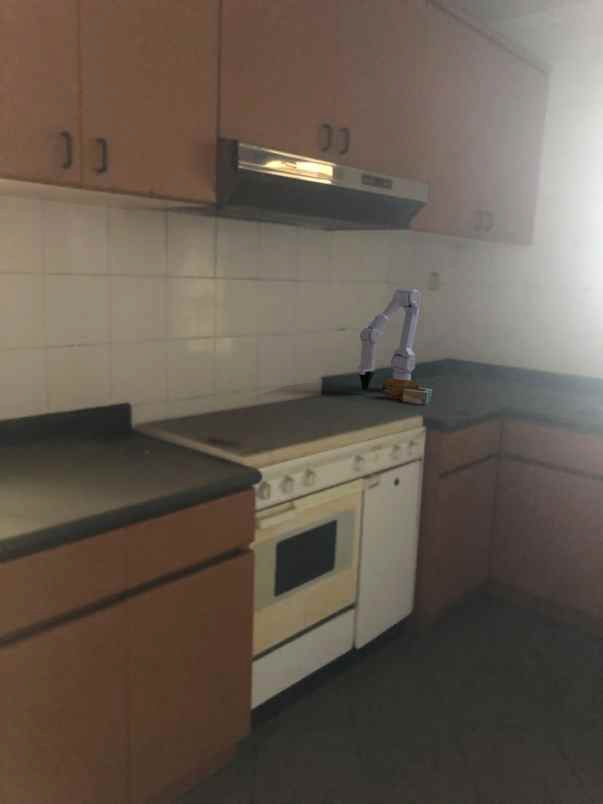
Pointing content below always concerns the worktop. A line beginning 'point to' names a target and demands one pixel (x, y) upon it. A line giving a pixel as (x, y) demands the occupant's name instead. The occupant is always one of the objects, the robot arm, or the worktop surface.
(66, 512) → the worktop surface
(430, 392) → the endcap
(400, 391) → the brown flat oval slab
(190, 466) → the worktop surface
